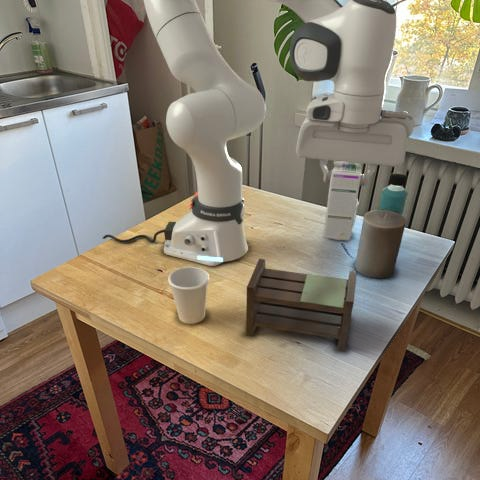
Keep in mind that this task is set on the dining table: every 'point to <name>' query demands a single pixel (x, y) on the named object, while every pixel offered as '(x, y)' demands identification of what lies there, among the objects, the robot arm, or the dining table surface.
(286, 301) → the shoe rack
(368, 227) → the pillar candle
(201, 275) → the dixie cup
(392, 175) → the beverage bottle
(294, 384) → the dining table surface
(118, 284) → the dining table surface
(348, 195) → the syrup box
